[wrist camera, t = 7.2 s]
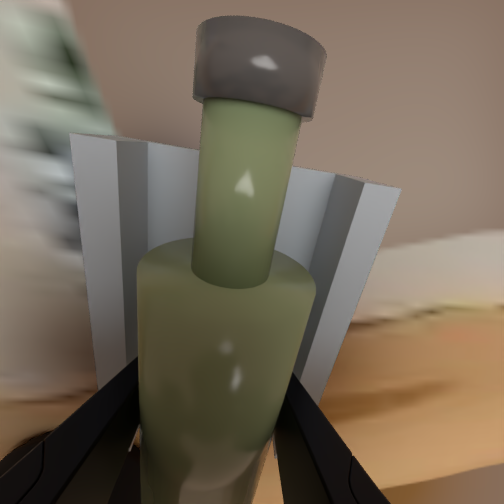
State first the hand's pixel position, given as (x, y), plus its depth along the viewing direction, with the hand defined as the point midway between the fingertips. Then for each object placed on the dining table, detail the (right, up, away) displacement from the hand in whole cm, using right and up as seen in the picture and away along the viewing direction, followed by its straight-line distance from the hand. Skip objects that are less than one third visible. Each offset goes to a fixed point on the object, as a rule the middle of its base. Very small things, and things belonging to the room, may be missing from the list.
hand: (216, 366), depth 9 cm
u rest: (0, +2, +4) cm, 4 cm away
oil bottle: (0, +3, 0) cm, 3 cm away
